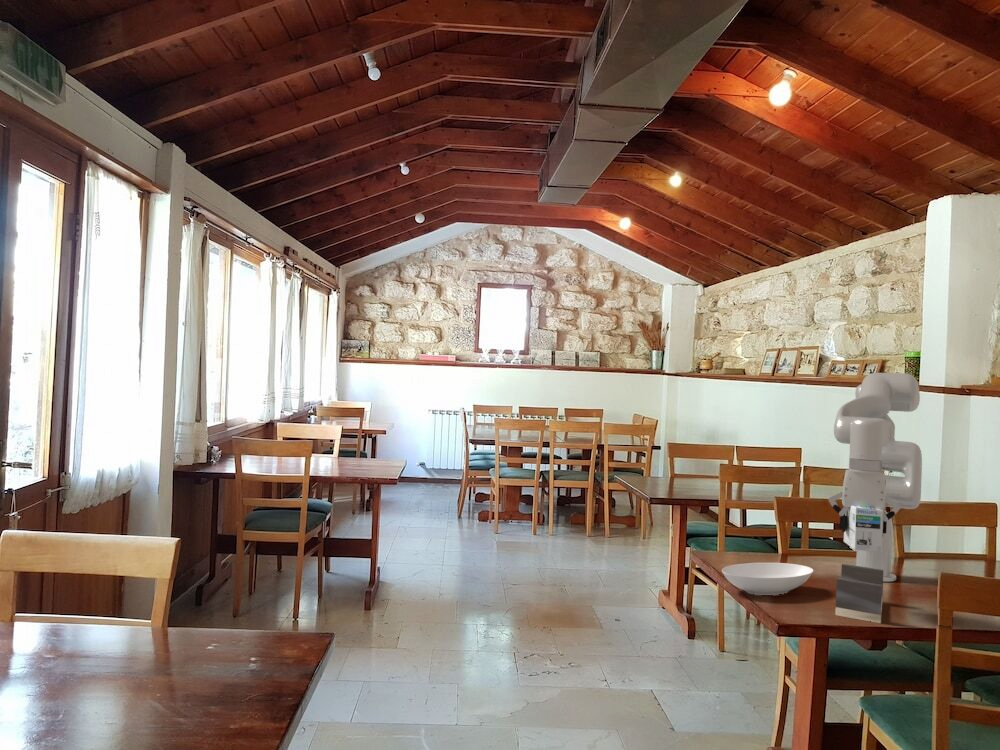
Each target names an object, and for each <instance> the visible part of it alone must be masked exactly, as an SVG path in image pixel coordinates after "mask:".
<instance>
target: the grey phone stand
mask: <svg viewBox="0 0 1000 750" xmlns="http://www.w3.org/2000/svg"><path fill="white" fill-rule="evenodd" d="M840 573H841V575H840V577H837V578H836V586H835V587H836V590H835V611H834V613H835V614H834V615H835V616H837V617H843V618H850V619H853V620H854V619H855V620H860V621H866V622H870V621H871V623H876V624H882V613H883V593H884V591H883V590H884V582H883V570H881V569H874V568H868V567H861V566H856V565H855V564H854V565H853V564H848V563H841V571H840Z"/></svg>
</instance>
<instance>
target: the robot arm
mask: <svg viewBox="0 0 1000 750" xmlns="http://www.w3.org/2000/svg"><path fill="white" fill-rule="evenodd" d="M854 395H855V398H854V399H851V400H849V401H847V402H846V403H844V404H842V406H841V407H840V408H839V409H838V411H837V413H836V416H835V417H836V418H835V421H834V423H833V436H834V438H835V440H836V441H837V442H839V443H840V444H846V445H849V456H848V457H849V458H848V459H849V460H848V469H845V473H844V478H843V482H842V483H843V485H842V491H840V492H838V493H836V494H834V495H832V496H830V497H828V500H827V501H828V502H829V504H830V505H831V507H832V508H833V510H834V511H835V512H836V513H837V515H839V529H842V530H841V531H842V533H844V532H845V531H846V512H847V511H848V510H849V509H850V508H851V506H861V507H868V508H876V509H880V510H883V537H882V552H873V551H862V550H856V558H855V559H856V560H855V562H856V563H855V566H861V567H868V568H874V569H881V570H883V583H884V582H889V583H890V582H895V581H897V575H896V574H894V573H891V572H892V552H893V551H892V549H893V527H894V526H893V519H892V518H893V517H894V516H895V515H896V514H898V512H899V511H900V510H901V509H905V510H914V509H917V508H918V507H919V506H920V503H921V499H922V477H923V476H922V474H923V473H922V471H923V456H922V455H923V454H922V450H921V448H920V446H919V445H918V444H917V443H916V442H912V441H904V440H903V441H901V440H900V441H899V440H895V437H896V436H895V433H896V432H895V431H896V425H895V422H894V420H892V419H891V417H890V416H889V413H890V412H907V413H910V412H911V413H912V412H914V411H916V410H917V409H918V407H919V404H920V402H921V401H920V399H921V395H920V386H919V381H917V379H916V377H915V376H913V375H912V374H910V373H902V372H900V373H899V372H873V373H870V374H867V375H866V376H865V377H864V378H863V380H862V382H861V384H859V385H858V386H856V388H855V394H854ZM883 471H884V472H883ZM885 472H895V473H902V474H903V475H904V476H897V475H890V474H889V475H888V474H885ZM839 499H841V505H842V508H841V507H840V506H839V504H838V503H837V502H836V501H838V500H839ZM887 507H889V508H892V509H891V510H890V511H888V512H887V510H886V508H887Z"/></svg>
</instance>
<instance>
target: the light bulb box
mask: <svg viewBox="0 0 1000 750" xmlns="http://www.w3.org/2000/svg"><path fill="white" fill-rule="evenodd" d="M882 537H883V510H880V509H876V508H868V507H861V506H851V508H850V509H849V510H848V511H847V512H846V531H845V532H843V543H845V544H846V545H847V546H849V547H850V548H852V549H853V550H855V551H857V550H862V551H873V552H882Z"/></svg>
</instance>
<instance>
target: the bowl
mask: <svg viewBox="0 0 1000 750" xmlns="http://www.w3.org/2000/svg"><path fill="white" fill-rule="evenodd" d="M721 572H722V574H723V575H724V577H725V578H726V580H727V581H728V582H729V583H730V584H732V585H733V586H734V587H737V588H738V589H740V590H742V591H744V592H746V593H747V594H749V595H753V594H754V596H761V595H773V596H780V595H779V594H782V595H785V594H787V593H789V592H790V591H793V590H795V589H796V588H798V587H800V586H802V585H803V584H805V583H806V582H807V581H808V579H809V578H810V577H811V576H812V574H813V573H814V569H813V568H812V567H810V566H807V565H803V564H796V563H786V562H784V563H783V562H749V563H746V562H745V563H737V564H732V565H727V566H724V567H723V568H721ZM784 593H785V594H784Z"/></svg>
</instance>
